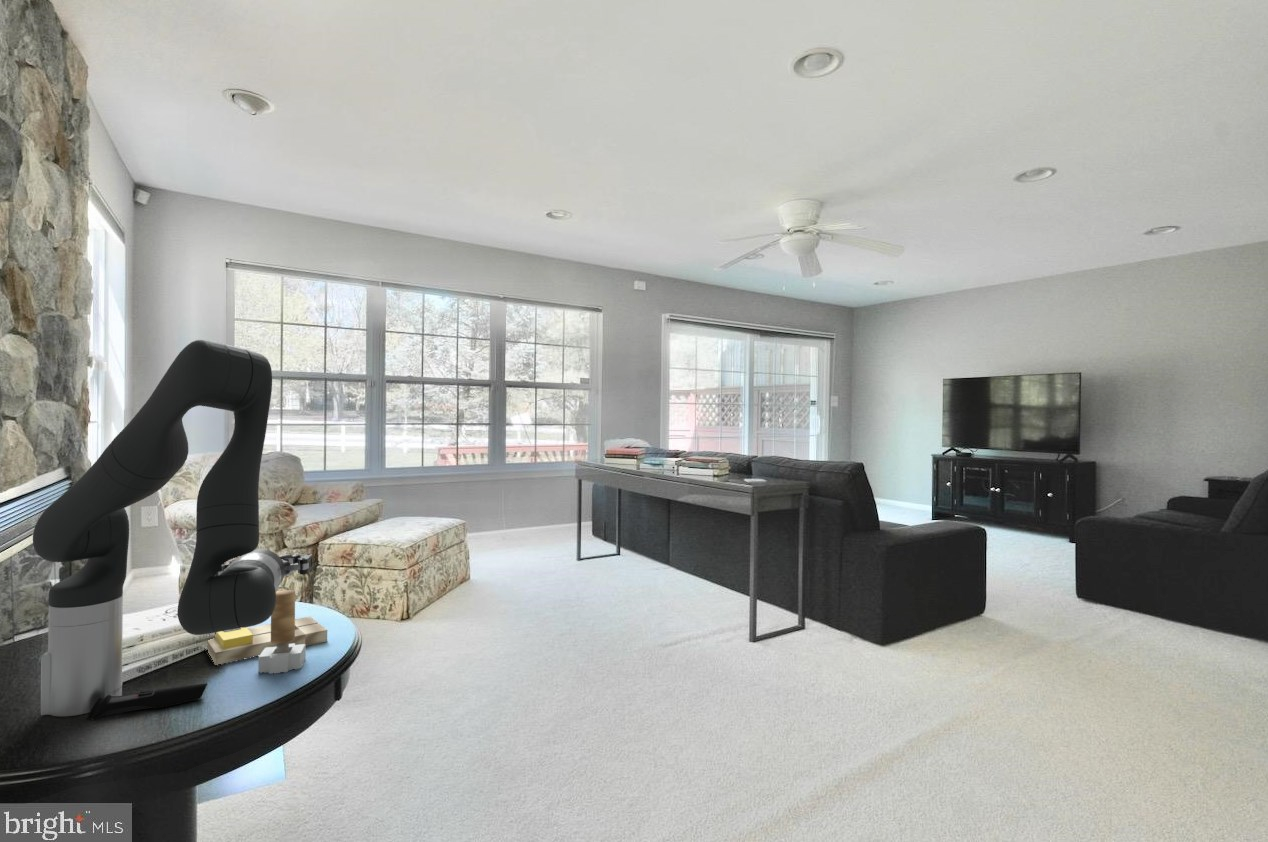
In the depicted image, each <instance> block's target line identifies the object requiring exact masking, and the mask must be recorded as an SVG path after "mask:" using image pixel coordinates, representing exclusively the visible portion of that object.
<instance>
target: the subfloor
mask: <svg viewBox="0 0 1268 842" xmlns="http://www.w3.org/2000/svg"><path fill="white" fill-rule="evenodd" d="M246 628H247V629H248V630H249V631H250V632H251V633H252V634H253V643H249V644H244V645H239V646H234V647H229V648H224V649H223V648H222V646H221V645H220V643H219V642H218V641H217V639H216V638H213V639H210V640H208V641H207V644H208V645H207V649H208V653H209V655H210V656H211V658H212V659H211V658H210V659H211V661H212V660H213V661H212V663H213V662H214V663H213V664H214V666H215V665H217V666H219V665H218V664H221V665H224V664H223V663H226V664H229V663H228V662H230V663H233V662H232V661H235V662H237V661H236V660H240V659H244V658H249V659H251V658H250V657H253V656H258V655H260V654H261V653H262V651H263V650H264V649H265V648H266V647H277V644H275V643H271V623H269V624H261V625H256V626H250V627H246ZM326 642H328V629H327V628H325V627H324V626H323V625H322V624H321V623H319V621H317V620H316V619H315V618H314V617H312V616H306V617H305V616H304V617H299V618H295V639H294V640H292V641H290V642H289V644H293V643H295V645H300V644H306V647H308V645H309V646H313V645H318V644H322V643H326ZM208 653H207V654H208ZM209 655H208V656H209ZM210 656H209V657H210ZM258 657H259V656H258ZM244 660H245V659H244ZM240 661H241V660H240Z"/></svg>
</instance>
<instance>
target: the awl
mask: <svg viewBox="0 0 1268 842" xmlns="http://www.w3.org/2000/svg"><path fill="white" fill-rule="evenodd" d="M295 617H296V591H295V590H293V589H284V590H283V589H282V590H277V591H276V604H275V608H274V611H273V613H272V615H271V616H270V624H271V643H275V644H277V653H287V652H289V642H290V641H292V640H294V639H295V619H296V618H295Z"/></svg>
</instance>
